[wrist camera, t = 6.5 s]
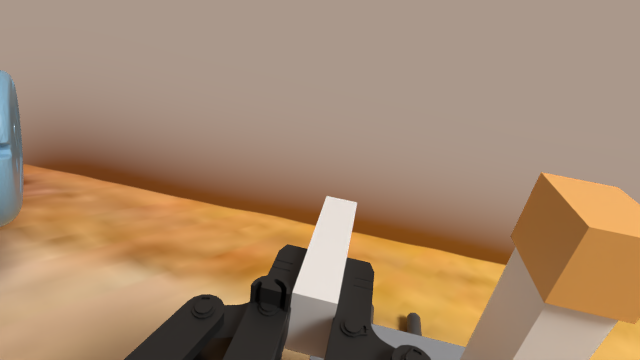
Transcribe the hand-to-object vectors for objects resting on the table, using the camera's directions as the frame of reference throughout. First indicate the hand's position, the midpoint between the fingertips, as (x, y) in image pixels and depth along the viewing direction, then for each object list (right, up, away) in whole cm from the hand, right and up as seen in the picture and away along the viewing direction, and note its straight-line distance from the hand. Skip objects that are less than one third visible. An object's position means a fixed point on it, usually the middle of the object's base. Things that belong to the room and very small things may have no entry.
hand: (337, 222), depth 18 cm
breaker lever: (+4, -12, -1) cm, 13 cm away
